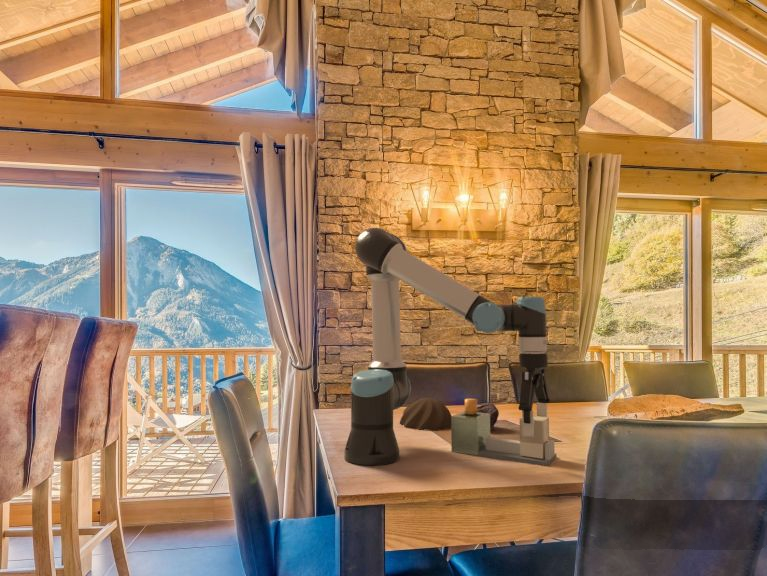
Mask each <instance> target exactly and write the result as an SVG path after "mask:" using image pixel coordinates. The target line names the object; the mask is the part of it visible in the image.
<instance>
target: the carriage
mask: <svg viewBox="0 0 767 576" xmlns="http://www.w3.org/2000/svg"><path fill="white" fill-rule="evenodd" d="M533 416H534V436H524V435H523V419H522V417H521V418H519V441H520V455H521V456H527V457H534V458H541V459H543V458H544V444H546V443H547V442H548V441H550V421H549V419H550V418H549V417H548V416H547V417H541V416H537V415H533Z"/></svg>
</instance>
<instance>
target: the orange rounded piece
mask: <svg viewBox="0 0 767 576" xmlns="http://www.w3.org/2000/svg"><path fill="white" fill-rule="evenodd" d="M477 406H478V399H477V398H464V411H465V414H468V415H474V414H477Z"/></svg>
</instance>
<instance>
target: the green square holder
mask: <svg viewBox="0 0 767 576" xmlns="http://www.w3.org/2000/svg"><path fill="white" fill-rule="evenodd" d="M450 433H451V438H450V440H451V442H450V443H451V446H450V447H451V453H452V452H453V453H458V452H459V454H464V453H465V454H466V455H472V456H477V455H478V451H480V450H482V449H484V448H485V447H486V438H488V437H491V430H490V414H488V413H478V412H477V414H474V415H468V414H465V410H464V411H462V412H459V413H455V414H453V415H451V428H450Z"/></svg>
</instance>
